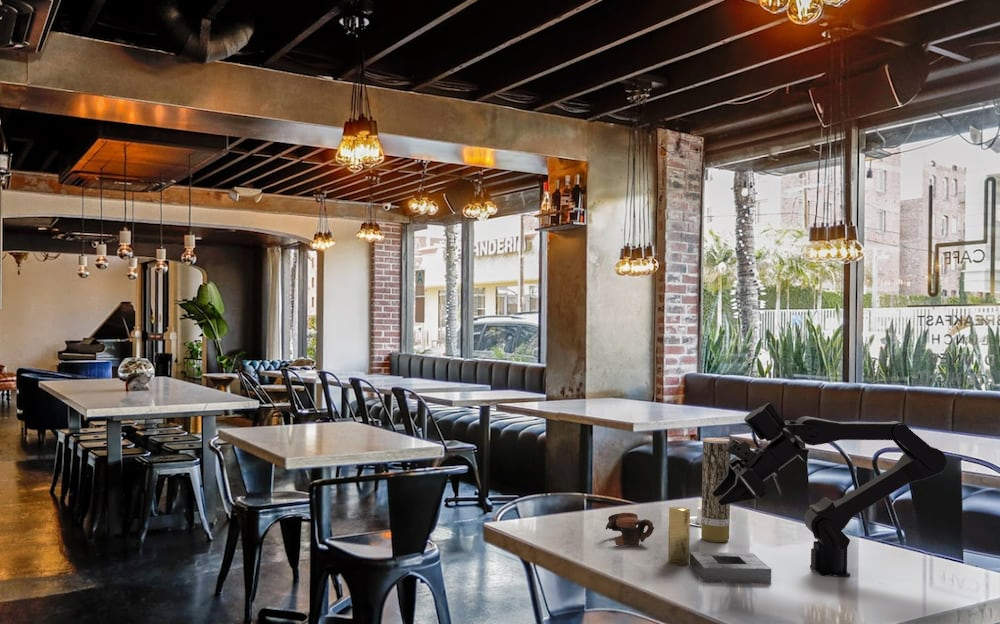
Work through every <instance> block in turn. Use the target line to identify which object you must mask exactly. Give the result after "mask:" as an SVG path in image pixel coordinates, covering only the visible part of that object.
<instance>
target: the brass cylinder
mask: <svg viewBox="0 0 1000 624" xmlns="http://www.w3.org/2000/svg"><path fill="white" fill-rule="evenodd" d="M690 517H691V509H690V508H688V507H685V506H671V507H669V508H668V550H667V553H668V555H667V556H668V557H667V562H668V564H670V565H674V566H681V567H682V566H683V567H684V566H688V565H690V539H691V538H690V536H691V535H690V534H691V533H690V530H691V525H690V523H691V520H690Z"/></svg>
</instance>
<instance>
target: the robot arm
mask: <svg viewBox="0 0 1000 624" xmlns="http://www.w3.org/2000/svg"><path fill="white" fill-rule="evenodd" d="M743 421H744V422H745V423H746V425H747V426H748V427H749V429H750V430H751V431H752V432H753V434H755V436H756V437H757V438H758V440H759V441H763V440H765V441H766V442H769V443H767V444H766V445H765V446H763V447H762V448H760V447H756V448H755V449H754V450H752V449H751V444H750V443H749V442H746V440H741V441H738V440H736V439H735V438H733V437H730V440H729V442H728V444H727V445H726V447H725V448H724V449H725V450H726V451H727V452H728V453H730V454H731V455H732V456H735V457H733V458H731V460H730V461H729V464H730V465H731V467H730V466H729V465H727V475H726V476H725V478H724V479H723V480H722V481H721V483H720V484H719V485H718V486H717V488H716V489H715V490H714V491H713V495H714V496H715V497H717V496H721V495H723V496H722V497H721V498H720V499H719V501H718V503H719V504H720V505H726V504H730V505H731V504H734V503H739V502H745V501H749V500H756V499H757V498H758V499H759V500H760V499H761V498H763V497H764V496H765V495H766V494H767V493H768V486H767V485H766V484H765V481H767V480H768V479H769V478H771V476H772V475H774V474H775V475H778V474H780V473H781V471H780V470H781V469H782V468H784V467H785V466H786V465H788V464H789V463H790V462H792V461H793V460H795V459H796V458H797V457H799V459H801V460H802V461H803V462H805V463H807V462H809V461H808V460H809V459H808V458H809V457H808V456H809V452H810V450H809V449H808V448H806V447H803V446H802V445H801V444H800V443H799V441H800V442H802V443H804V444H805V445H808V446H819V445H825V444H830V443H833V442H837V441H893V443H894V444H895V445H896V446H897V447H898V448H899V450H901V452H903V454H902V455H901V457H899V459H898V461H897V462H896V463H895V464H894V466H892V467H891V468H889V469H886V470H885V471H884V472H882V473H881V474H879V475H878V476H875V477H874V478H872V479H870V480H869V481H868V482H866V483H864V484H863V485H861V486H859V487H858V488H856V489H855V490H854V489H853V491H851V492H849V493H847V494H846V495H844V496H843V497H841V498H839V499H836V500H831V499H829V498H828V497H826V496H824V497H822V498H821V499H820V500H818V501H817V502H815V503H814V504H810V505H809V507H810V508H809V509H808V510H807V511H806V512H804V513H805V514H804V521H803V522H804V524H805V527H806V528H807V529H808V530H809V531H810V532H811V533H812V535H813V538H814V539H815V541H813V546H812V548H811V549H810V565H809V567H810V568H811V569H812V570H813V571H815V572H816V573H817V574H818V575H820V576H826V575H837V577H839V576H840V577H851V573H850V572H849V571H848V547H849V545H850V542H851V539H850V538H849V537H848V536H847V535H846V534H845V533H844V532H843V530H844V529H845V528H846V526H848V525H849V522H850V521H851V520H852V519H853V518H854V517H855V516H857V515H858V514H860V513H862V512H864V511H865V510H867V509H868V508H870V507H871V506H873V505H875V504H876V503H878V502H880V501H882V500H883V499H885V498H887V497H889V496H890V495H892V494H893V493H895V492H896V491H899V490H900V489H901V488H903V487H905V486H907V485H908V484H911V483H915V482H919V481H923V480H927V479H930V478H932V477H934V476H937V475H941V474H942V473H943V472H944V471H945V470H946V468H947V457H946V455H945V453H944V452H943V451H942V450H940V449H938V448H937V447H933V446H930V445H929V444H928V443H927V441H925V440H923V439H922V438H921V437H920V436H919V435H917V434H916V433H914V431H912V430H911V429H910V427H909V426H908V425H907V424H905V423H903V422H900V421H896V420H893V421H892V420H891V421H835V420H834V421H833V420H830V419H825V418H819V417H813V416H808V415H806V416H801V417H798V418H797V419H796V420H787V419H786V420H783V418H782V417H781V416H780V415H779V414H778V412H777V411H776V409H775V406H773V405H772V403H770V402H767V403H766V404H764V405H761V406H760V407H758V408H756V409H753V410H752V411H750V412H749V413H748V414H747V415H746V416H745V417H744V419H743ZM784 431H785V432H787V433H789V434H791V435H793V436H794V437H792V438H789V436H788V435H787V434H786V433H785V432H784ZM797 440H799V441H797Z"/></svg>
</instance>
